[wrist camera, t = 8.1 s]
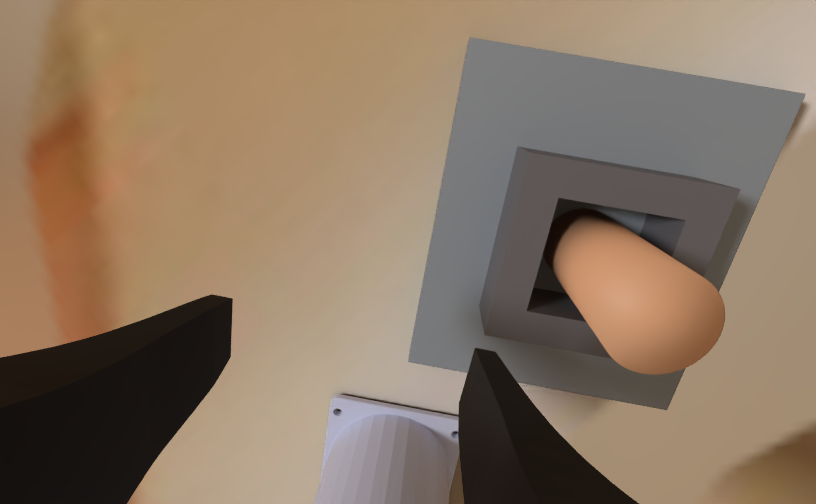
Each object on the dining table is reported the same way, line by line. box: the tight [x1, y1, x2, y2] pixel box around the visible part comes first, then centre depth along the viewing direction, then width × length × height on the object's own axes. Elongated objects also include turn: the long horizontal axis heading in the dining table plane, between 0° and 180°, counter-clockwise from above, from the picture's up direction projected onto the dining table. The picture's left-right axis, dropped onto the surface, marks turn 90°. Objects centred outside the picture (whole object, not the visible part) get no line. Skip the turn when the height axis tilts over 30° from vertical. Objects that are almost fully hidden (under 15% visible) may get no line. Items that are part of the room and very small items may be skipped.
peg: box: [543, 208, 725, 375], centre depth 16 cm, size 4×4×8 cm
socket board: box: [408, 38, 805, 410], centre depth 19 cm, size 16×14×4 cm
